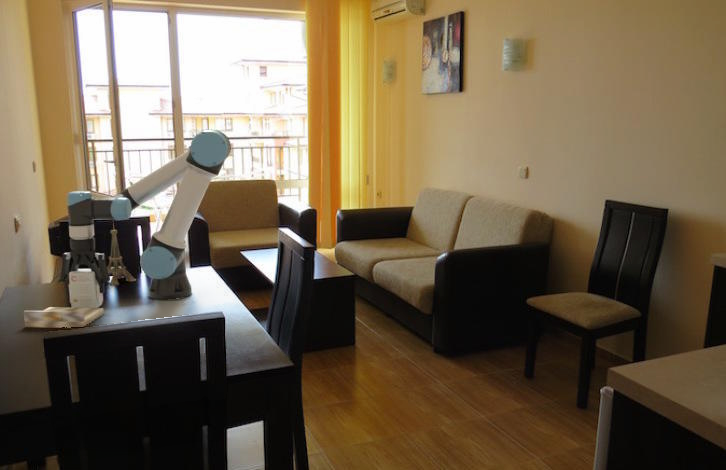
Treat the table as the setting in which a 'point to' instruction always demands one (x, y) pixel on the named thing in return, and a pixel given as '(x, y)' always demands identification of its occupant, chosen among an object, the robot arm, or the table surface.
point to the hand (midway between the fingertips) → (86, 301)
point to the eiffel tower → (116, 258)
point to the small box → (83, 289)
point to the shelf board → (62, 317)
